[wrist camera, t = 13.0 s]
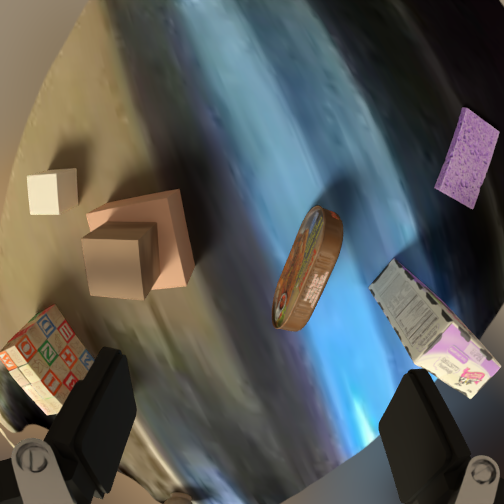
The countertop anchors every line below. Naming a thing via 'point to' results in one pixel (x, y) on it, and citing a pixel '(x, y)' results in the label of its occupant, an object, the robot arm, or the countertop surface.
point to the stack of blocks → (47, 359)
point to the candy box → (432, 331)
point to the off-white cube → (52, 191)
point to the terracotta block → (169, 231)
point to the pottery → (179, 498)
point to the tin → (307, 269)
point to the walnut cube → (122, 259)
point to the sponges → (467, 158)
